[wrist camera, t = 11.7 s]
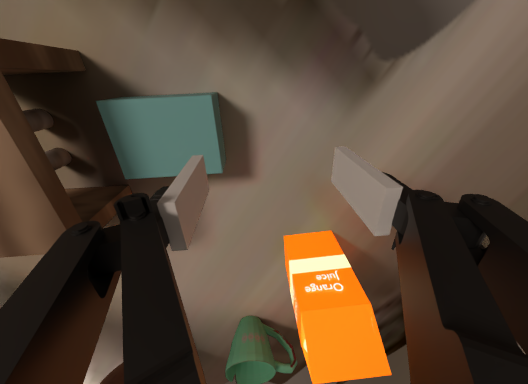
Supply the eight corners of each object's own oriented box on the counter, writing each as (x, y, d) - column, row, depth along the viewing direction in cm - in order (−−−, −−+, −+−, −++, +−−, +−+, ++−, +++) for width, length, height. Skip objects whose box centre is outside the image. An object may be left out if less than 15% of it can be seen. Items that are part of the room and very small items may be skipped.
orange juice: (329, 261, 43) (386, 390, 25) (285, 266, 42) (310, 399, 25) (331, 229, 39) (400, 355, 21) (283, 235, 39) (311, 366, 21)
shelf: (53, 201, 33) (-39, 260, 22) (-32, 55, 24) (-254, 38, 13) (133, 196, 33) (79, 251, 23) (78, 50, 24) (-53, 30, 14)
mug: (226, 333, 52) (222, 385, 43) (232, 307, 47) (228, 359, 39) (285, 336, 54) (292, 386, 45) (295, 311, 50) (306, 362, 41)
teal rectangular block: (217, 92, 27) (211, 95, 23) (226, 159, 31) (222, 173, 27) (120, 97, 27) (95, 101, 22) (143, 164, 31) (125, 179, 27)
